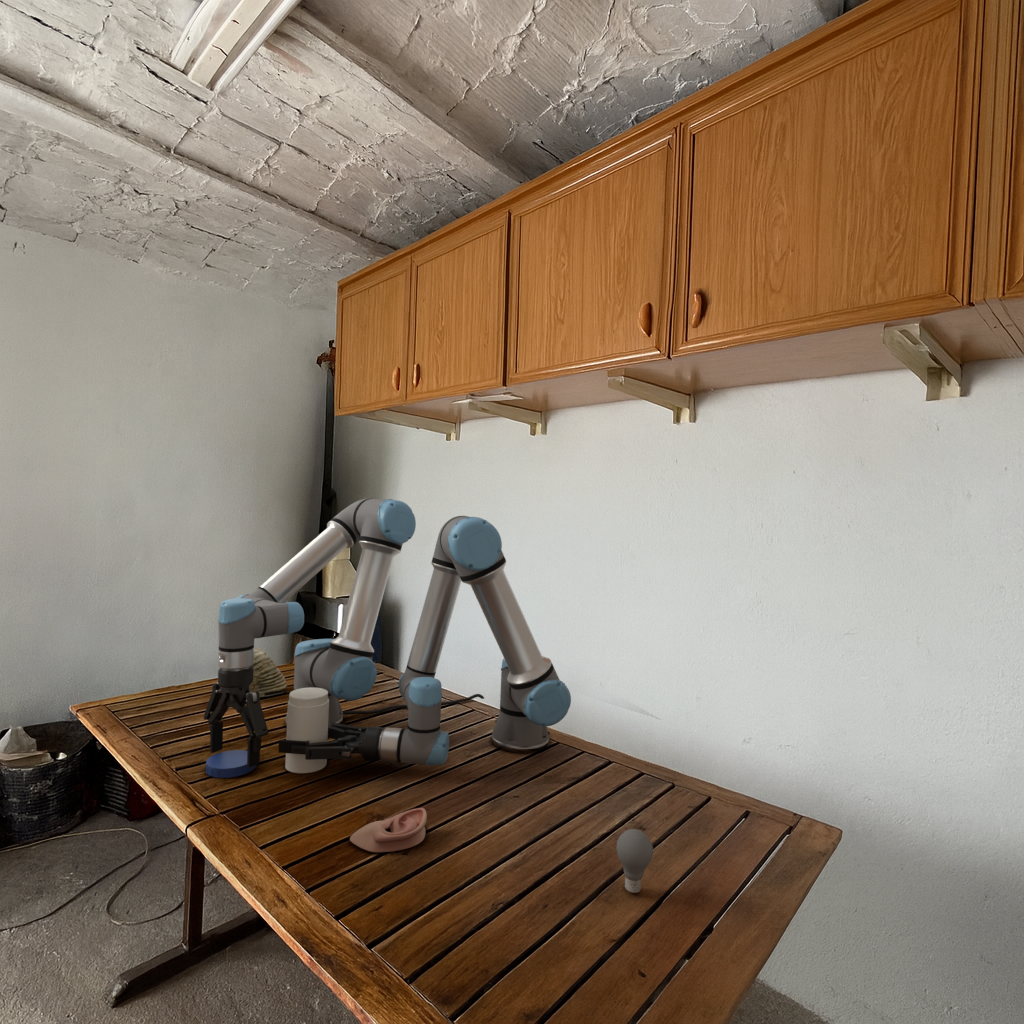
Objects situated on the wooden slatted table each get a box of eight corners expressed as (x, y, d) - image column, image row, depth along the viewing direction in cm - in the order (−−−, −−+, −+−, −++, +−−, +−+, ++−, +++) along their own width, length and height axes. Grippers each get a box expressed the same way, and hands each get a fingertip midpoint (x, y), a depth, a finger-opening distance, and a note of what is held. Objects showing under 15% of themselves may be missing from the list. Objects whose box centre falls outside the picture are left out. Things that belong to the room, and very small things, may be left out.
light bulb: (610, 879, 108) (613, 822, 108) (644, 879, 109) (647, 822, 109) (619, 902, 102) (622, 840, 102) (655, 901, 103) (658, 840, 103)
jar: (283, 759, 151) (286, 688, 151) (324, 754, 155) (326, 685, 155) (286, 775, 143) (289, 700, 143) (329, 770, 147) (331, 697, 146)
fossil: (218, 695, 195) (220, 647, 195) (278, 685, 208) (279, 640, 207) (228, 703, 189) (230, 653, 188) (289, 692, 201) (290, 645, 201)
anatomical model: (342, 825, 115) (369, 797, 126) (341, 847, 115) (368, 817, 126) (412, 836, 112) (433, 806, 123) (411, 859, 112) (432, 826, 123)
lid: (264, 767, 146) (265, 758, 146) (219, 782, 138) (220, 773, 138) (241, 754, 153) (241, 746, 153) (197, 768, 145) (197, 759, 145)
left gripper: (188, 661, 149) (187, 750, 149) (257, 680, 136) (255, 778, 137) (217, 654, 155) (216, 740, 156) (285, 672, 142) (284, 765, 143)
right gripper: (367, 781, 137) (267, 773, 138) (393, 742, 159) (306, 736, 160) (369, 746, 137) (268, 739, 138) (394, 712, 159) (307, 707, 160)
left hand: (234, 758), depth 146 cm, fingers open, 13 cm apart
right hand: (288, 737), depth 149 cm, fingers closed on jar, 9 cm apart
